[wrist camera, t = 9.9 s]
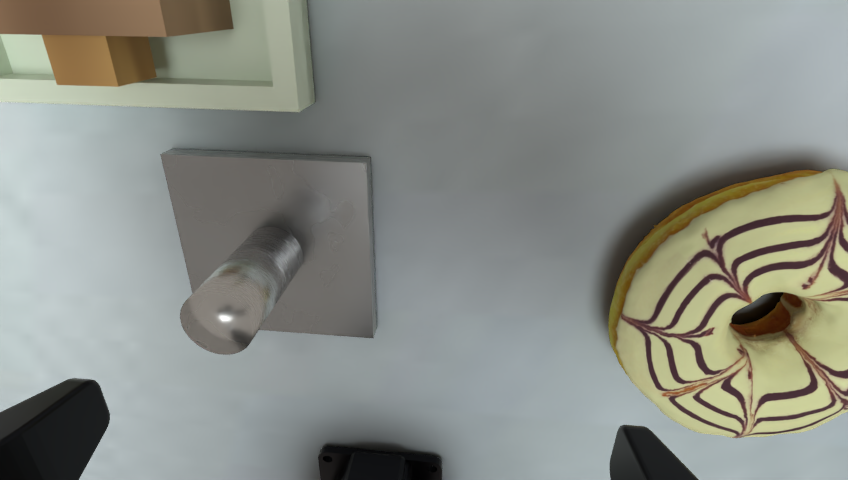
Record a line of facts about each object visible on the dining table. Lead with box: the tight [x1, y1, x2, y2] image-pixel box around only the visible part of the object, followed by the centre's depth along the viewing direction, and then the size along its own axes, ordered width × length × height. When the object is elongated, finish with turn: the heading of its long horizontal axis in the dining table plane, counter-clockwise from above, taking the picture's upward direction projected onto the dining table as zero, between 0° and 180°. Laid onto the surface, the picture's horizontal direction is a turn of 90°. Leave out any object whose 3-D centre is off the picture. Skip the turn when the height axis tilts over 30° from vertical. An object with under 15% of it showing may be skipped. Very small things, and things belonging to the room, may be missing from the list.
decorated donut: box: [608, 169, 848, 438], centre depth 18 cm, size 10×11×4 cm
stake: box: [161, 149, 377, 354], centre depth 18 cm, size 8×8×6 cm
